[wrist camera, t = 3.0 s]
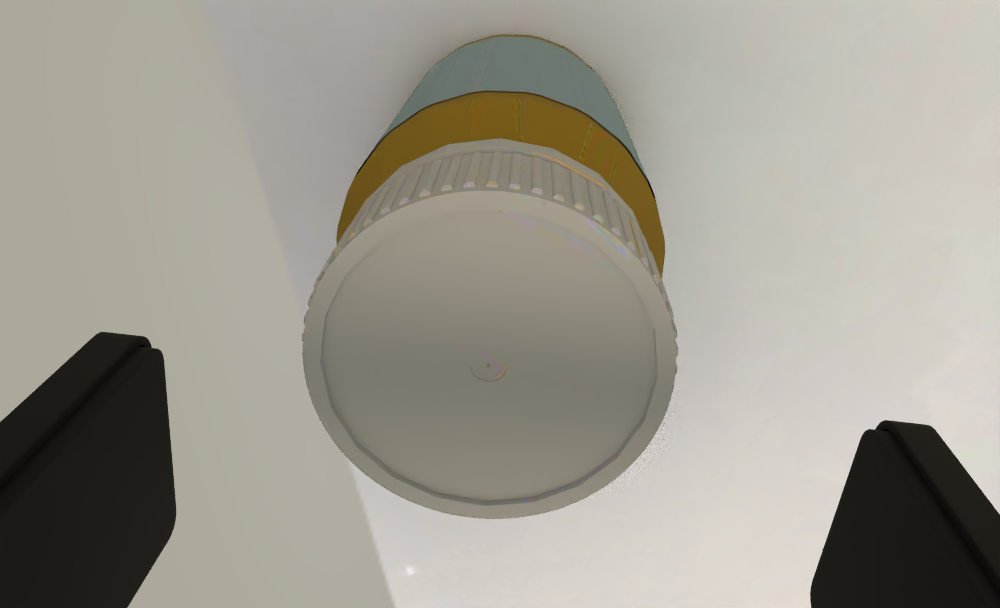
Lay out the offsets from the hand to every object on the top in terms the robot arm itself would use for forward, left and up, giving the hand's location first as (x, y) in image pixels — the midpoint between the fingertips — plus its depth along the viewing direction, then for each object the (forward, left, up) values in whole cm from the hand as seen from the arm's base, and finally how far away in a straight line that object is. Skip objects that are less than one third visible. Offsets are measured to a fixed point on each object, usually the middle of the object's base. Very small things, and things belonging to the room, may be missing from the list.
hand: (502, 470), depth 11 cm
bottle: (0, 0, -18) cm, 18 cm away
